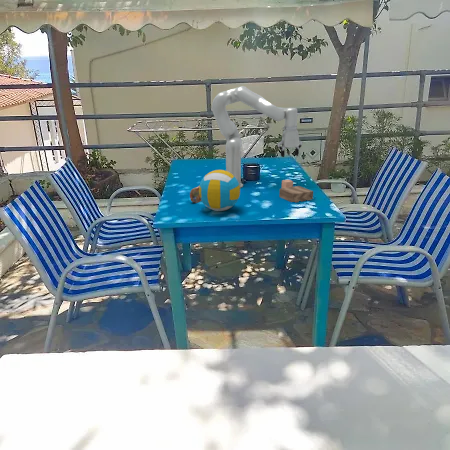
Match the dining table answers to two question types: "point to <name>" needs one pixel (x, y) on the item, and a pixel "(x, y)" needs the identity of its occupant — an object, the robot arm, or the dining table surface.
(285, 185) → the terracotta block
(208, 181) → the volleyball
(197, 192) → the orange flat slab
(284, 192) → the walnut block
